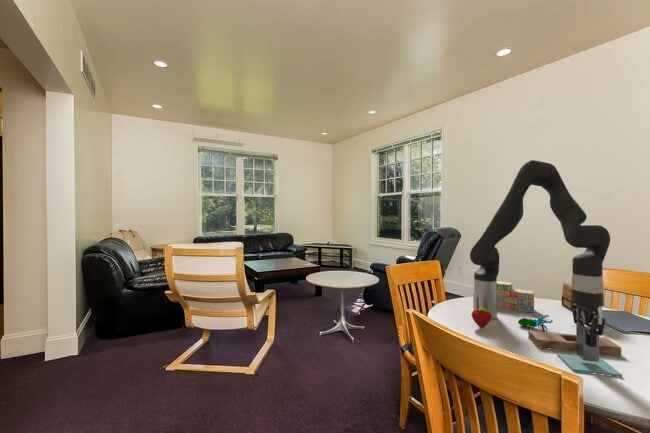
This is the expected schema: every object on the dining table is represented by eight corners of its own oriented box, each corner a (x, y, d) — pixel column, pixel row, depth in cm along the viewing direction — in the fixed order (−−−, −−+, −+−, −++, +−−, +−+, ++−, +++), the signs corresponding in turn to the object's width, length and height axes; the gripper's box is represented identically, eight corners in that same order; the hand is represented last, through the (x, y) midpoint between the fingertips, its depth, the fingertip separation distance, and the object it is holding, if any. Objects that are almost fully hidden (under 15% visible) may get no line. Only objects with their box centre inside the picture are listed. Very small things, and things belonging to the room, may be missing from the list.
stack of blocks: (534, 309, 143) (534, 285, 143) (533, 313, 138) (533, 287, 138) (486, 301, 157) (485, 279, 157) (483, 304, 152) (483, 281, 152)
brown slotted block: (537, 347, 103) (537, 339, 103) (528, 338, 111) (528, 330, 111) (621, 356, 96) (621, 347, 96) (605, 345, 104) (605, 337, 104)
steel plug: (583, 360, 90) (583, 328, 89) (576, 354, 93) (576, 323, 93) (599, 362, 88) (599, 329, 88) (591, 355, 92) (591, 324, 92)
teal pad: (572, 371, 88) (572, 368, 88) (557, 355, 97) (557, 353, 97) (622, 377, 84) (622, 374, 84) (600, 360, 94) (600, 358, 94)
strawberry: (469, 324, 125) (469, 301, 125) (489, 326, 123) (489, 303, 123) (473, 330, 119) (473, 306, 119) (493, 331, 117) (493, 307, 117)
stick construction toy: (552, 322, 121) (549, 310, 117) (558, 337, 115) (555, 325, 112) (519, 325, 126) (515, 314, 123) (524, 340, 121) (519, 328, 118)
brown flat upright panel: (561, 305, 149) (561, 282, 149) (565, 305, 149) (565, 282, 149) (572, 312, 139) (572, 287, 139) (577, 312, 138) (577, 287, 138)
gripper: (561, 282, 99) (561, 332, 99) (585, 294, 85) (585, 352, 85) (588, 284, 96) (588, 335, 97) (617, 296, 83) (617, 355, 83)
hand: (587, 342), depth 91 cm, fingers closed on steel plug, 4 cm apart
